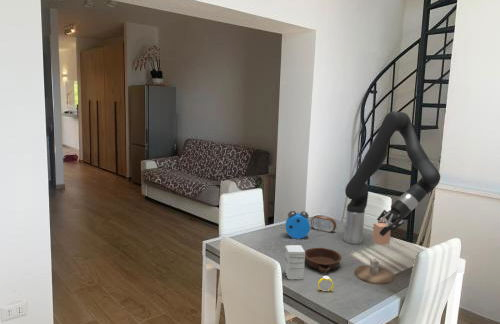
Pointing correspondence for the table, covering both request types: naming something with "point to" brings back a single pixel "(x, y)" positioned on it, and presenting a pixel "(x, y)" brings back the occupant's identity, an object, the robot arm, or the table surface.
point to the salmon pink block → (377, 236)
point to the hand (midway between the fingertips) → (377, 232)
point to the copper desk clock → (323, 223)
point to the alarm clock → (297, 224)
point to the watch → (326, 280)
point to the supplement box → (294, 261)
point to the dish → (322, 259)
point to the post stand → (374, 273)
